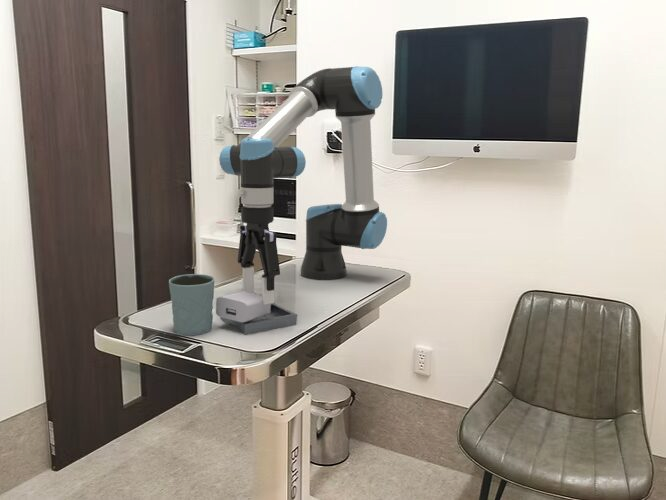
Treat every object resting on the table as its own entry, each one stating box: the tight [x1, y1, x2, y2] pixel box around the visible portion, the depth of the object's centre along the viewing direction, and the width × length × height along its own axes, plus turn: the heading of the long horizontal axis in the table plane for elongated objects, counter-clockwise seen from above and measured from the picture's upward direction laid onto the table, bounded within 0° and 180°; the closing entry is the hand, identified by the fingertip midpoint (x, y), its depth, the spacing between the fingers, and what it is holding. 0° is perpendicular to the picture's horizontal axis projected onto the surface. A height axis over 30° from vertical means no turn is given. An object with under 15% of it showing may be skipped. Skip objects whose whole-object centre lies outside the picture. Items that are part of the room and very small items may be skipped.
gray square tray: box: [219, 302, 298, 336], centre depth 134 cm, size 14×14×2 cm
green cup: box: [168, 273, 215, 336], centre depth 127 cm, size 10×10×12 cm
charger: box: [215, 290, 276, 322], centre depth 133 cm, size 5×9×15 cm
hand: (258, 298), depth 133 cm, fingers closed on charger, 10 cm apart
